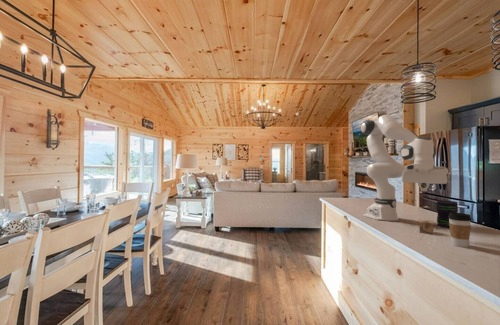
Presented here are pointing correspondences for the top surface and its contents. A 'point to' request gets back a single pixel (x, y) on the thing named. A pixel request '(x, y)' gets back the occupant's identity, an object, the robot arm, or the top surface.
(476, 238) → the top surface
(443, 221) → the storage jar
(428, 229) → the lettered cube
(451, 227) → the coffee cup
